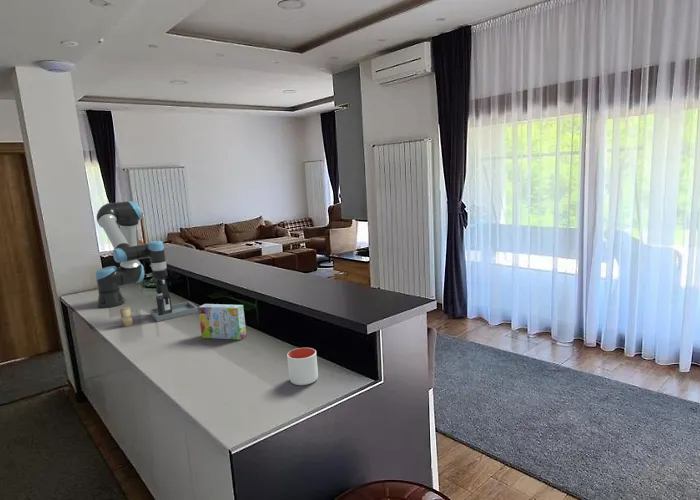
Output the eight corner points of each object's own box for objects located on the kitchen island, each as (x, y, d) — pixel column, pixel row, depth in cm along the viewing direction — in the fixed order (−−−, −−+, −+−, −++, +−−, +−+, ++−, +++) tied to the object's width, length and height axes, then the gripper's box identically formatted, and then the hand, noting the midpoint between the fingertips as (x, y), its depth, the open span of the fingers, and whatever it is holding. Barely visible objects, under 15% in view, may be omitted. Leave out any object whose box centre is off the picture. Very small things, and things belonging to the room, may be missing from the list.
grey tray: (150, 314, 250) (149, 309, 250) (189, 306, 262) (189, 301, 262) (157, 322, 236) (156, 316, 235) (198, 312, 248) (197, 307, 247)
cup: (290, 375, 161) (287, 349, 159) (318, 372, 161) (315, 346, 160) (289, 388, 151) (286, 360, 149) (318, 385, 152) (316, 357, 150)
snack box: (247, 336, 205) (243, 304, 202) (240, 340, 199) (236, 308, 197) (208, 333, 212) (204, 303, 209) (201, 338, 206) (196, 306, 204)
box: (172, 314, 245) (170, 296, 243) (162, 317, 242) (159, 298, 240) (168, 312, 251) (166, 293, 249) (158, 314, 248) (155, 296, 246)
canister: (122, 325, 234) (119, 308, 233) (132, 323, 237) (129, 306, 236) (123, 327, 230) (120, 310, 229) (134, 325, 233) (131, 308, 231)
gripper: (147, 267, 250) (152, 304, 254) (157, 274, 230) (162, 313, 233) (161, 265, 254) (166, 301, 258) (172, 271, 234) (177, 310, 237)
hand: (164, 307), depth 246 cm, fingers open, 13 cm apart
